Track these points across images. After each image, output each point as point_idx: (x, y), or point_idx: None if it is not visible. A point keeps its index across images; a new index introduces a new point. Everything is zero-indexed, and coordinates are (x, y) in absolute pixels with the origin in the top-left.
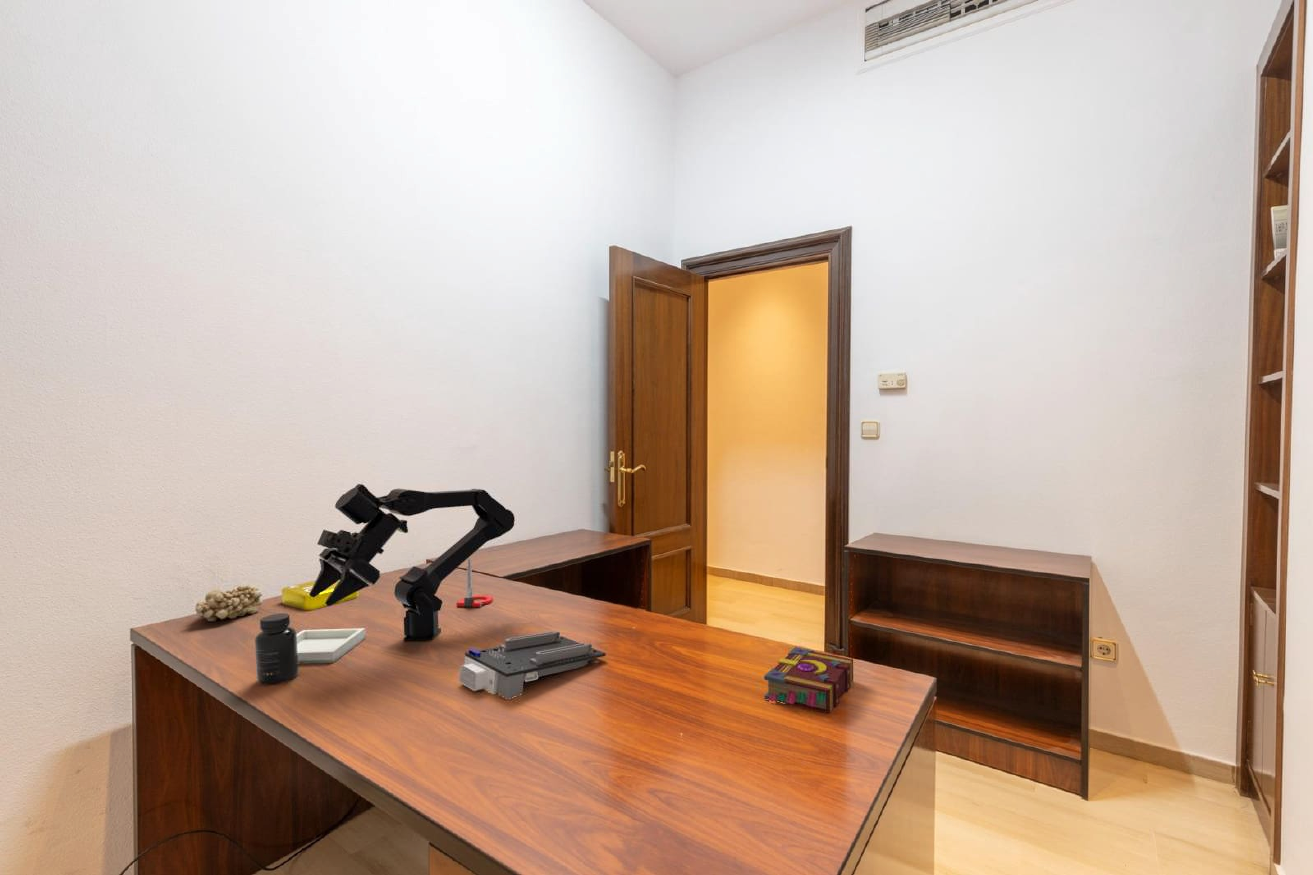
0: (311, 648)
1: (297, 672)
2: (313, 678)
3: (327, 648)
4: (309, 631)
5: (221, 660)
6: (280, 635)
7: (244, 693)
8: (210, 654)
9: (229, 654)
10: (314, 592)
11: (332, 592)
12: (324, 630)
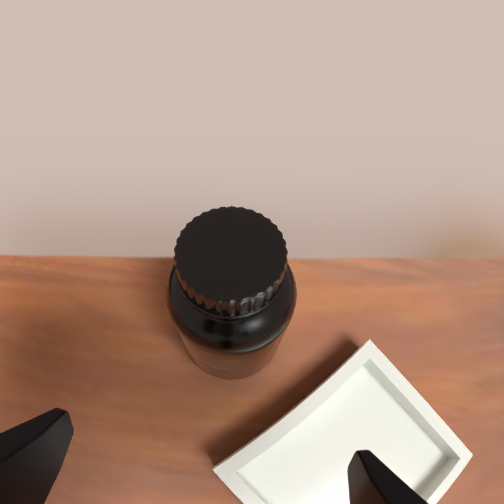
0: None
1: (201, 368)
2: (151, 383)
3: (325, 489)
4: (452, 467)
5: (447, 293)
6: (172, 275)
7: None
8: (486, 289)
9: (470, 313)
10: (356, 477)
11: (14, 438)
12: (429, 502)
